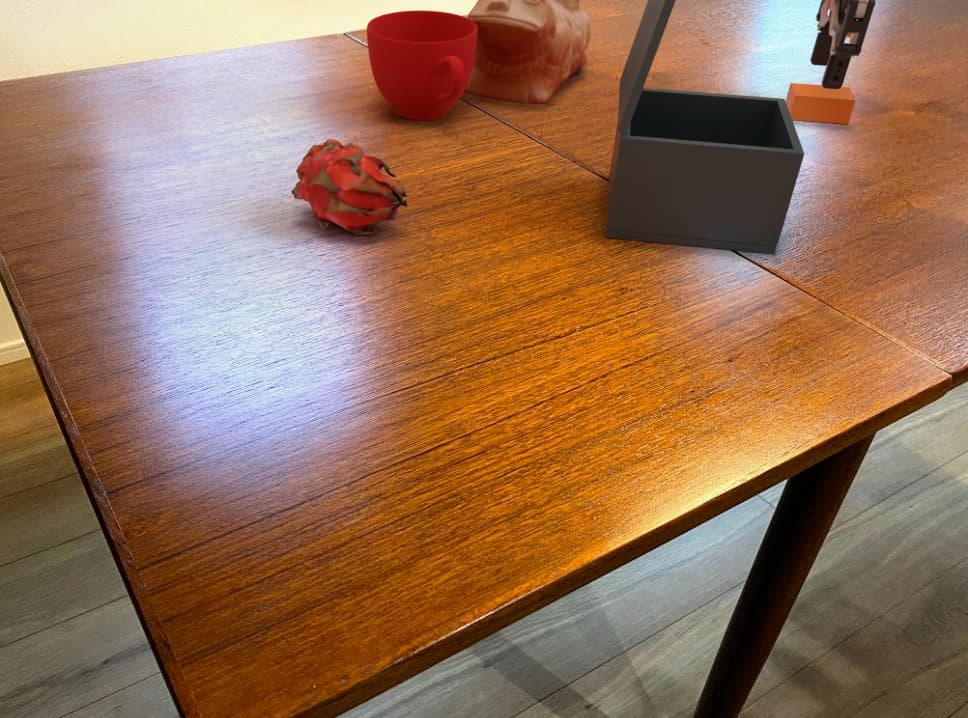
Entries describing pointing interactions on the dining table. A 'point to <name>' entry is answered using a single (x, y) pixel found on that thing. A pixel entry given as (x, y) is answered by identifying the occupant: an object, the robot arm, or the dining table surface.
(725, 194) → the storage bin
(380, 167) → the dragon fruit
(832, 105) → the packet
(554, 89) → the ceramic vessel
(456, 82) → the ceramic cup
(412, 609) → the dining table surface
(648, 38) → the box lid
